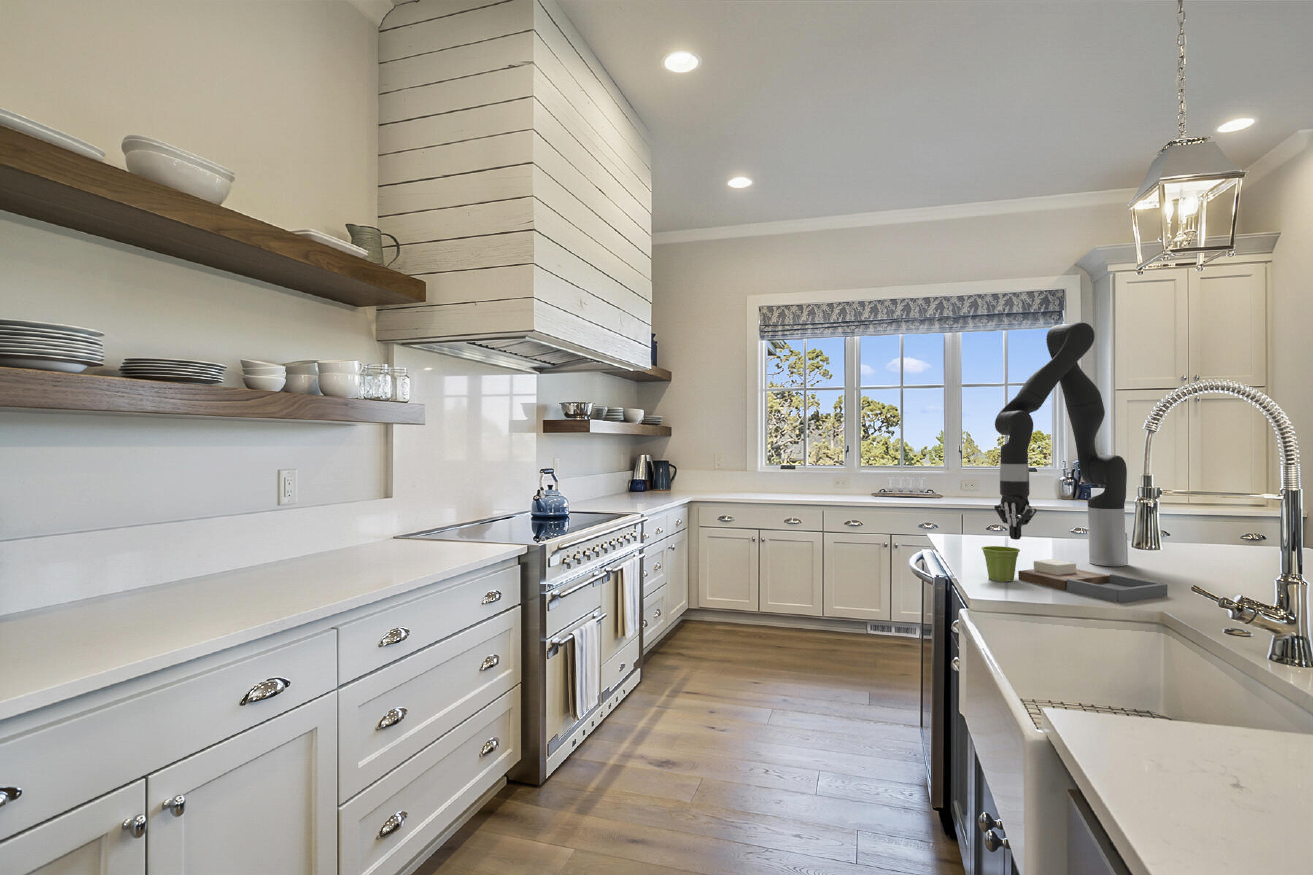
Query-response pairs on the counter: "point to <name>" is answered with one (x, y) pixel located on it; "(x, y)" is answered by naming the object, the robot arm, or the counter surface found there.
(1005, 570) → the plant pot
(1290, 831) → the counter surface
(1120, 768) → the counter surface
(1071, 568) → the tile
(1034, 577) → the brown square board
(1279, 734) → the counter surface
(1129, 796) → the counter surface
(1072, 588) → the tray
